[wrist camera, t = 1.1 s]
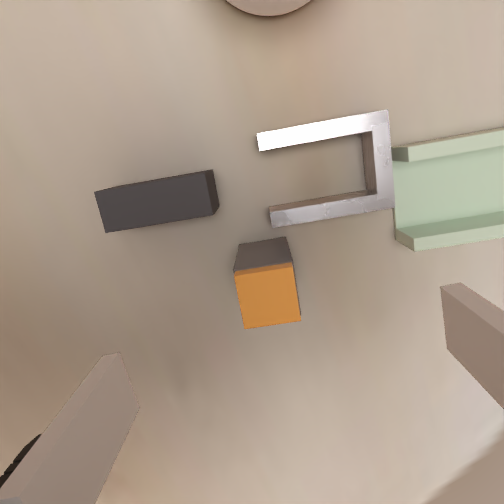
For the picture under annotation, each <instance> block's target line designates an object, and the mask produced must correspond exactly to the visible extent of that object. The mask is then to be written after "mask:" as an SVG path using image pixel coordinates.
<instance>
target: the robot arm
mask: <svg viewBox="0 0 504 504" xmlns="http://www.w3.org/2000/svg"><path fill="white" fill-rule="evenodd" d="M440 289H441V298H442V307H443V317H444V326H445V335H446V344H447V349H448V350H449V351H450V353H451V354H452V355H453V356H454V357H455V358H456V359H457V360H458V361H459V362H460V363H461V364H462V365H463V366H464V367H465V369H466V370H467V371H468V372H469V373H470V374H471V375H472V376H473V377H474V378H475V379H476V380H477V381H478V382H479V383H480V384H481V386H482V387H483V388H484V389H485V390H486V391H487V392H488V393H489V394H490V395H491V396H492V397H493V398H494V399H495V400H496V401H497V403H498V404H499V405H500V406H501V407H502V408H503V409H504V311H503V310H501V309H500V308H498V307H497V306H495V305H494V304H492V303H491V302H489V301H488V300H486V299H485V298H483V297H482V296H480V295H479V294H477V293H476V292H474V291H473V290H471V289H470V288H468V287H467V286H465V285H464V284H462V283H461V282H460V283H455V284H450V285H445V286H441V287H440ZM139 408H140V407H139V404H138V401H137V398H136V396H135V393H134V390H133V387H132V385H131V382H130V379H129V377H128V374H127V371H126V368H125V366H124V363H123V360H122V358H121V355H120V352H118V353H114V354H109V355H104V356H102V357H101V358H100V359H99V361H98V362H97V363H96V365H95V366H94V367H93V368H92V370H91V371H90V372H89V374H88V375H87V376H86V378H85V379H84V380H83V381H82V383H81V384H80V385H79V387H78V388H77V389H76V391H75V392H74V393H73V394H72V396H71V397H70V398H69V400H68V401H67V402H66V404H65V405H64V406H63V407H62V409H61V410H60V411H59V413H58V414H57V415H56V417H55V418H54V419H53V420H52V422H51V423H50V424H49V426H48V427H47V428H46V430H45V431H44V432H43V434H39V435H38V436H37V437H36V438H34V439H33V440H32V441H31V442H30V443H29V444H27V445H26V446H25V447H24V448H23V449H22V451H21V452H20V453H19V454H18V456H17V457H16V458H15V459H14V461H13V464H10V466H9V467H8V468H7V469H6V471H5V472H4V475H2V476H1V477H0V504H95V502H96V500H97V498H98V496H99V494H100V492H101V490H102V488H103V485H104V483H105V481H106V479H107V477H108V475H109V473H110V470H111V468H112V466H113V464H114V462H115V460H116V458H117V455H118V453H119V451H120V449H121V447H122V445H123V443H124V440H125V438H126V436H127V434H128V432H129V430H130V428H131V426H132V423H133V421H134V419H135V417H136V415H137V413H138V411H139Z"/></svg>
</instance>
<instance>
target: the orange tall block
mask: <svg viewBox="0 0 504 504" xmlns="http://www.w3.org/2000/svg"><path fill="white" fill-rule="evenodd" d="M233 271H234V278H235V283H236V288H237V294H238V299H239V304H240V309H241V314H242V319H243V324H244V329H249V328H256V327H263V326H269V325H276V324H283V323H290V322H296V321H301V317H300V316H301V311H300V305H299V298H298V291H297V285H296V278H295V272H294V265H293V260H292V256H291V253H290V249H289V246H288V242H287V239H286V237H280V238H274V239H268V240H262V241H256V242H250V243H244V244H239V247H238V252H237V256H236V261H235V265H234V269H233Z"/></svg>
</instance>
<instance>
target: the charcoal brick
mask: <svg viewBox="0 0 504 504" xmlns="http://www.w3.org/2000/svg"><path fill="white" fill-rule="evenodd" d="M94 193H95V197H96V201H97V204H98V208H99V211H100V215H101V218H102V222H103V225H104V229H105V233H108V232H114V231H120V230H126V229H132V228H138V227H144V226H150V225H156V224H162V223H168V222H174V221H180V220H186V219H192V218H198V217H204V216H210V215H213V214H214V213H215V212H216V210H217V209H218V208H219V200H218V195H217V190H216V185H215V180H214V175H213V170H207V171H201V172H195V173H190V174H184V175H178V176H173V177H167V178H161V179H156V180H150V181H144V182H138V183H133V184H127V185H121V186H116V187H112V188H108V189H104V190H100V191H96V192H94Z"/></svg>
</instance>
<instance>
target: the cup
mask: <svg viewBox="0 0 504 504" xmlns="http://www.w3.org/2000/svg"><path fill="white" fill-rule="evenodd" d="M226 1H228V2H229V3H230V4H232V5H233V6H235V7H237V8H238V9H240V10H242V11H245V12H247V13H251V14H254V15H260V16H276V15H282V14H286V13H289V12H291V11H294V10H296V9H298V8H300V7H302V6H303V5H305V4H306V3H308V2H309V1H310V0H226Z"/></svg>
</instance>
